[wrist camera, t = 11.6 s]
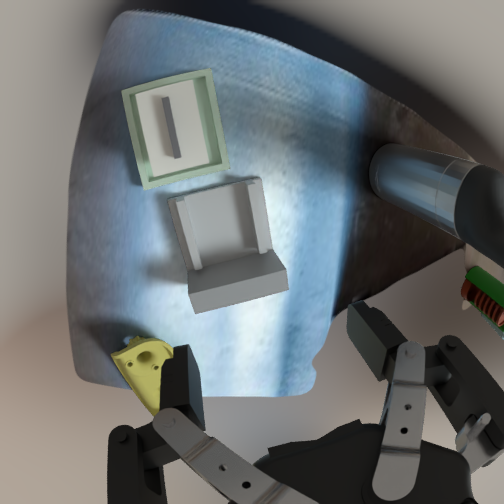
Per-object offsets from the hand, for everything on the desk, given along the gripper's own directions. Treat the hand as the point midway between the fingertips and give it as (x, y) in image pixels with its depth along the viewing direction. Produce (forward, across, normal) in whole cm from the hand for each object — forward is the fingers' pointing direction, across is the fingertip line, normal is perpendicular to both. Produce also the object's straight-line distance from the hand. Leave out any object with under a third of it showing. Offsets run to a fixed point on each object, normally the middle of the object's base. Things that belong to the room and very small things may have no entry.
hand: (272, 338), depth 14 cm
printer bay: (+26, 0, +3) cm, 26 cm away
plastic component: (+26, +18, +25) cm, 40 cm away
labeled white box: (+25, +4, -10) cm, 27 cm away
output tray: (+26, +4, -10) cm, 28 cm away
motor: (+27, -57, +30) cm, 70 cm away
